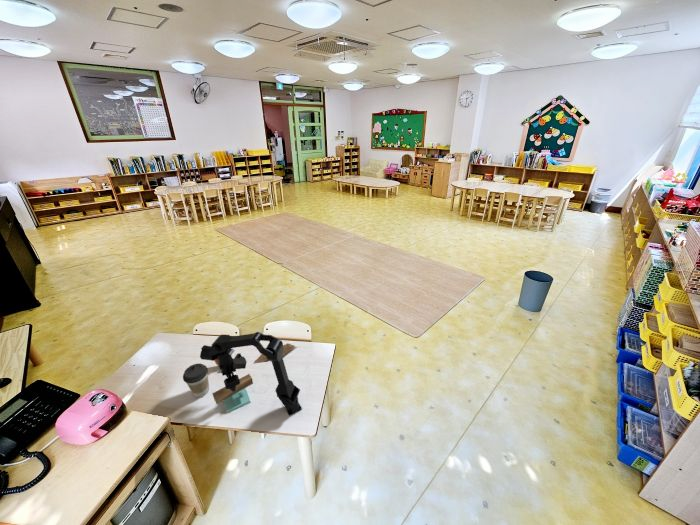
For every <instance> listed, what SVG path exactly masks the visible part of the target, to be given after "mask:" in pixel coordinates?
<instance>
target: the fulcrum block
mask: <svg viewBox="0 0 700 525" xmlns="http://www.w3.org/2000/svg"><path fill="white" fill-rule="evenodd" d="M223 403H224V406H225V410H226V414H229V413H231V412H233V411H235V410H238V409H241V408H242V407H244V406H246V405H248V404H250V403H251V399H250V396H249V395H248V392H247V387H246V388H244V389H243V390H241V391H239V392H237V393H236V394H234V395H232V396H230V397H229V398H227V399H225V400H223Z"/></svg>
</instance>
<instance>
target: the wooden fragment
mask: <svg viewBox="0 0 700 525" xmlns="http://www.w3.org/2000/svg"><path fill="white" fill-rule="evenodd" d="M296 347H297V346H296V345H294V344H292V343H286V344H283V354H282V357H283V358H284V357H285V356H287V355H288V354H289V353H291V352H292V351H294V350H295V349H296ZM268 361H269V360H268V359H267V357H266V356H265V355H263V354H261V353H260V355H259V356H258V357H257V358H256V359H255V360H254V362H253V364H258V363H262V362H268Z"/></svg>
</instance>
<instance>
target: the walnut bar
mask: <svg viewBox="0 0 700 525" xmlns="http://www.w3.org/2000/svg"><path fill="white" fill-rule="evenodd" d="M239 380H240V384H239V385H236V390H235V391H234V392H233V391H231V390H230V389H226V387H225V386H224V387H222V388H220V389H218V390H216V391H214V392H212V396H213V399H214V402H215V404H216V405H218V404H219V403H221V402H224V400H225V399H227V398H229V397H230V396H232V395H234V394H236V393H237V392H239V391H241V390H243V389H244V388H246V389H247V388H248V387H251V386H252V385H253V384H254V381H253V377H252V376H251V374H250V373H248V374H246V375H244V376H242V377H240V378H239Z"/></svg>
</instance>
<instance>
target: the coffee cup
mask: <svg viewBox="0 0 700 525" xmlns="http://www.w3.org/2000/svg"><path fill="white" fill-rule="evenodd" d="M208 373H209V369H208V367H207V366H206V365H205V364H203V363H193V364H192V365H190V366H188V367H186V369H185V370H184V373H183V375H182V379H183V381H184V383H186V385H187V387H189V389H190V391H191V393H192V394H193V395H194V396H195V397H196V398H202V397H205V396H206V395H207V394H208V393H209V391H210V383H209V375H208Z"/></svg>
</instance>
